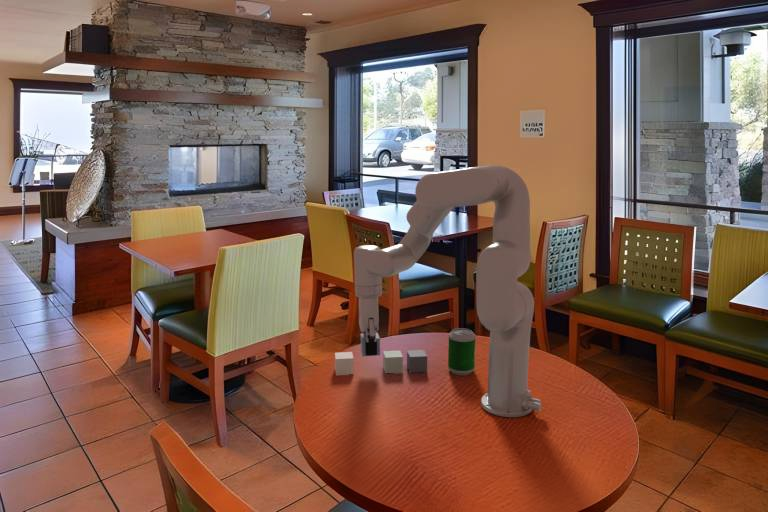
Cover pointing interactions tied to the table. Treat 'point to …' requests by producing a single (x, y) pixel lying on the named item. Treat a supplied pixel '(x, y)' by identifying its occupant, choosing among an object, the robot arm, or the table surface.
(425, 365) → the charcoal block
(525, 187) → the robot arm
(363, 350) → the slate block
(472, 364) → the soda can
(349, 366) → the cream block
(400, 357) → the sage block
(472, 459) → the table surface
